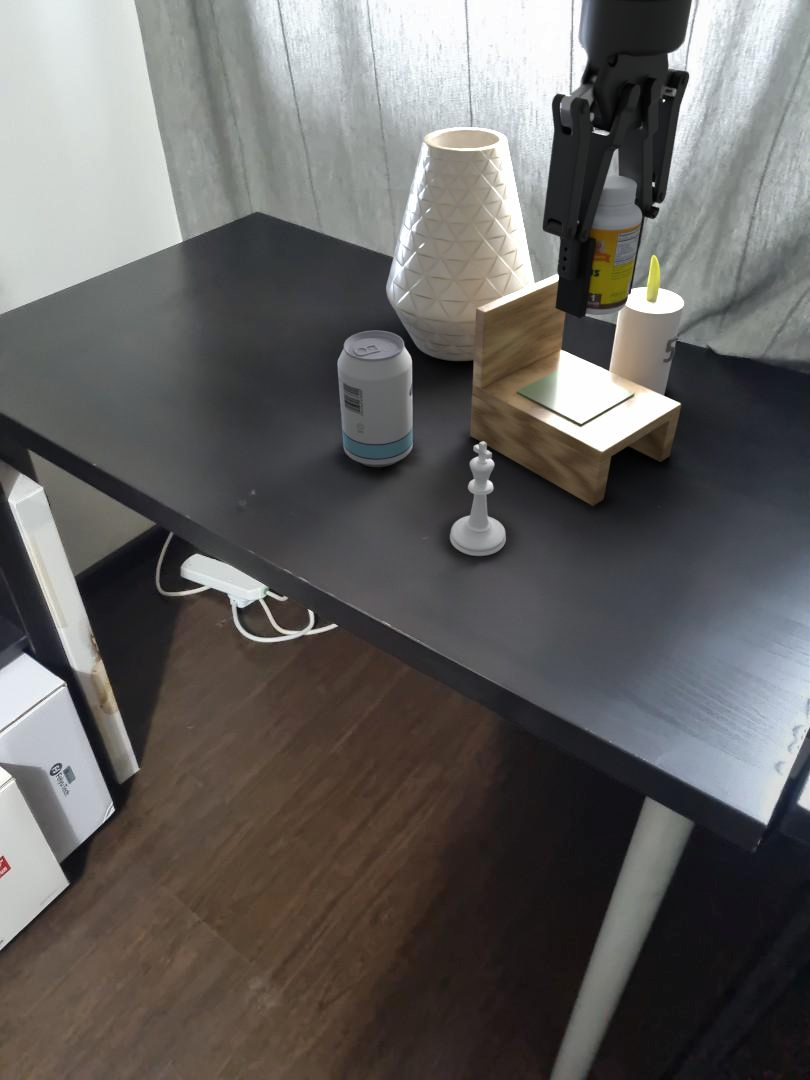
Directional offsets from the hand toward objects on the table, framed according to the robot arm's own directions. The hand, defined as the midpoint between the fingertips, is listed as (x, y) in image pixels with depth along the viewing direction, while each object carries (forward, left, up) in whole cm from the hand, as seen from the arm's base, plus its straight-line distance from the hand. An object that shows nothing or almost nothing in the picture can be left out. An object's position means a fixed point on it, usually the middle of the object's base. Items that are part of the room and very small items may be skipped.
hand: (593, 300), depth 72 cm
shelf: (+1, -1, -16) cm, 16 cm away
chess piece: (-3, +16, -16) cm, 23 cm away
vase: (+25, -9, -16) cm, 31 cm away
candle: (+3, -15, -16) cm, 22 cm away
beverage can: (+13, +14, -16) cm, 25 cm away
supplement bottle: (0, 0, 0) cm, 0 cm away
